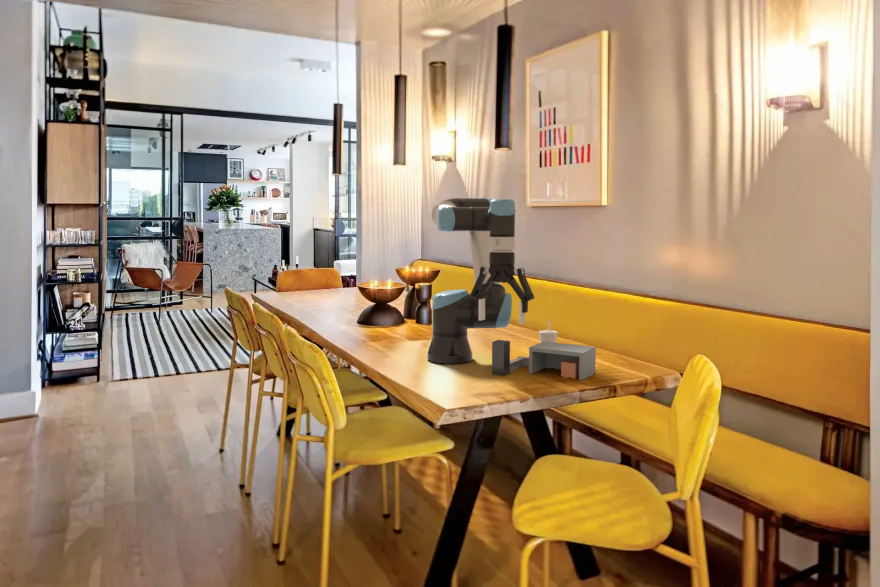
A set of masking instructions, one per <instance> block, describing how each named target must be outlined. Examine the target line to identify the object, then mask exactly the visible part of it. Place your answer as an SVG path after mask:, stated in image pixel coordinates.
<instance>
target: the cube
mask: <svg viewBox="0 0 880 587" xmlns="http://www.w3.org/2000/svg"><path fill="white" fill-rule="evenodd" d="M560 371H561V372H560V377H561V376H564V377H563V378H568V377H572V378H571V379H577V378H579V377H578V376H579V361H577V360H568V359H567V360H565V361H563V362H561V370H560ZM576 377H577V378H576Z"/></svg>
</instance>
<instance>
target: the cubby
mask: <svg viewBox="0 0 880 587" xmlns="http://www.w3.org/2000/svg"><path fill="white" fill-rule="evenodd" d="M596 353H597V347H596V346H591V345H581V344H580V345H579V344H572V343H571V344H570V343H561V342H556V343H554V342H541V343H540V342H539V343H536V344H533V345H531V346H529V347H528V357H529V367H528V374H529V375H530V374H531V375H532V374H534V373H537V372H539V371H541V370H543V369H551V368H554V369H553V370H559V369H561V362H563V361H565V360H567V359H568V360H577V361H579V377H578V381H581V380H582V381H584V380H586V379H588V378H589V376H590V375H591V376H593V375H595V374H596V362H597V361H596V358H597V357H596V356H597V354H596ZM594 373H595V374H594ZM592 374H593V375H592ZM591 376H590V377H591ZM587 377H588V378H587ZM585 378H586V379H585ZM583 379H584V380H583Z"/></svg>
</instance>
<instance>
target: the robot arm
mask: <svg viewBox="0 0 880 587" xmlns="http://www.w3.org/2000/svg"><path fill="white" fill-rule="evenodd" d="M515 203H516V202H515V200H514V199H510V198H506V199H505V198H497V199H495V198H494V199H493V198H488V197H487V198H486V197H480V198H478V197H477V198H473V197H472V198H471V197H469V198H468V197H467V198H466V197H454V198H453V197H452V198H448V199H444V200H441V201H439V202H437V204H436V205H434V207H433V209H432V211H431V219H432V221H433V222H434V224H435V225H436V226H437V229H438V230H439V231H440V232H447V233H448V232H449V233H450V232H464V233H465V235H466V237H468V238H469V242H470V251H471V261H472V268H473V270H472V271H473V278H474V280H473V281H474V285H473V288H472V290H471V293H468V290H467V289H463V288H462V289H451V290H444V291H440V292H437V293H436V294H434V295H433V297H432V306H431V309H432V337H431V338H432V339H431V341H430V344H429V347H428V350H427V359H428V360H430V361H432V362H431V363H433V362H436V363H435V364H440V363H444V364H443V365H457V364H458V365H459V364H466V362H467V363H469V362H472V361H473V351H472V348H471V345H470V341H469V339H468V329H501V328H507V327H508V326H509V324H510V322H511V317H512V316H511V315H512V311H513V310H512V309H513V296H512V294H511V293H509V292H507V291H506V287H504V285H503V284H502V283H504V284H508V285H510V287H511V288H512V290H513V291H514V292H515V294H516V295H517V296H518V298H519V300H521V301H519V302H518V325H524V324H525V323H526V313H528V311H529V302H530V301H532V300H535V295H534V293H533V291H532V289H531V286H530V284H529V282H528V279H527V277H526V274H525V272H526V270H525V268H524V267H519V268H515V262H516V260H515V257H516V256H515V252H514V250H516V248H515V247H516V245H515V244H516V242H515V241H516V240H515V238H516V237H515V233H516V232H515V230H516V205H515ZM515 275H516V277H517V279H518V281H519V283H520V285H521V286H520V285H519V283H518V282H517V280H516V278H515V277H514V276H515ZM428 360H427V361H428ZM430 361H429V362H430Z"/></svg>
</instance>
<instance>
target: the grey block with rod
mask: <svg viewBox="0 0 880 587" xmlns="http://www.w3.org/2000/svg"><path fill="white" fill-rule="evenodd" d="M519 367H520V368H522V367H527V368H529V356H523V355H522V356H521V355H519V356H517V357H516V358H513V359H511V341H510V340H503V339H497V340H495V341H491V375H493V376H494V375H495V376H501V377H504V376H508V375H509V374H510V373H511V372H513V371H515V370H518V369H520V368H519Z"/></svg>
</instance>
